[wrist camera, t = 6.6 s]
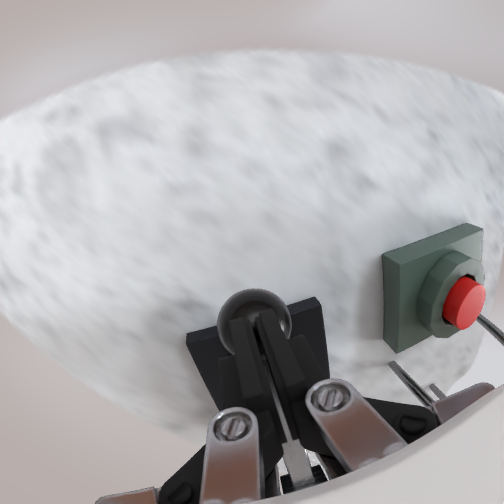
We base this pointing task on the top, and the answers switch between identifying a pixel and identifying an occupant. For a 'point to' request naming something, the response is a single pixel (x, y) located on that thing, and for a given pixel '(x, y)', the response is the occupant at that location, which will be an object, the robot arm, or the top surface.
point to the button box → (427, 283)
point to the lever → (249, 308)
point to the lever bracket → (211, 349)
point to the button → (464, 302)
